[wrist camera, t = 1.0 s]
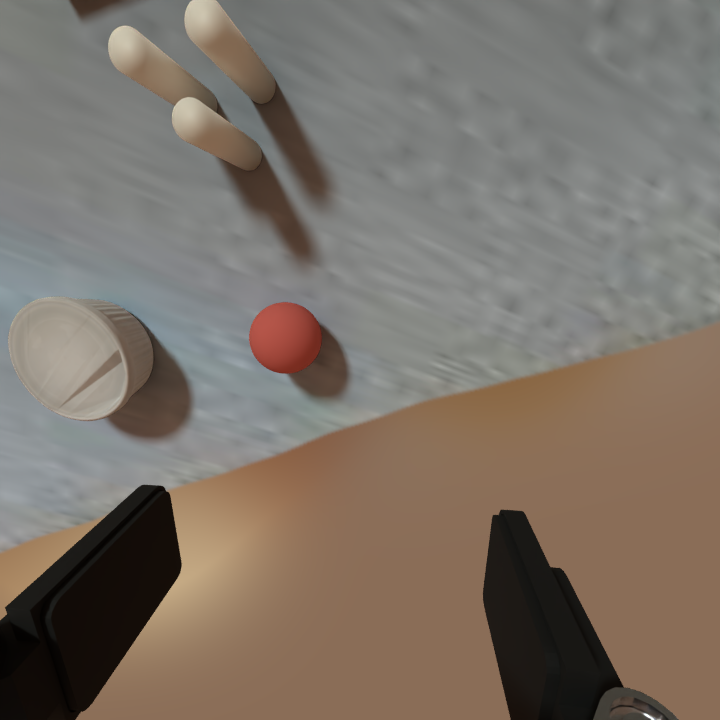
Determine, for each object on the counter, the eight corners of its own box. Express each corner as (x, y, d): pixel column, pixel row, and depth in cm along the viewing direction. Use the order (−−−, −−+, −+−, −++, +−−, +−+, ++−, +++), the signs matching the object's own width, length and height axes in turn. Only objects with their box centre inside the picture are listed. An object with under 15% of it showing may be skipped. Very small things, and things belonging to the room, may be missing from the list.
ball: (318, 291, 33) (300, 300, 27) (334, 355, 34) (321, 376, 29) (256, 305, 34) (226, 317, 28) (274, 366, 35) (250, 389, 30)
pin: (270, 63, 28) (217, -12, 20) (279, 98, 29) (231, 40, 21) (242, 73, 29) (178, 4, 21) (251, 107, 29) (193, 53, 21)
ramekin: (155, 414, 39) (118, 439, 34) (56, 376, 39) (4, 396, 34) (174, 315, 35) (137, 326, 30) (65, 274, 35) (9, 278, 30)
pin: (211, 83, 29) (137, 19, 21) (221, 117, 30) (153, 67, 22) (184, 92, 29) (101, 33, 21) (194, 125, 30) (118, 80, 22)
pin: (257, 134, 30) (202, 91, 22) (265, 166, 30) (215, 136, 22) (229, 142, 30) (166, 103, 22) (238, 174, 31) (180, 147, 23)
